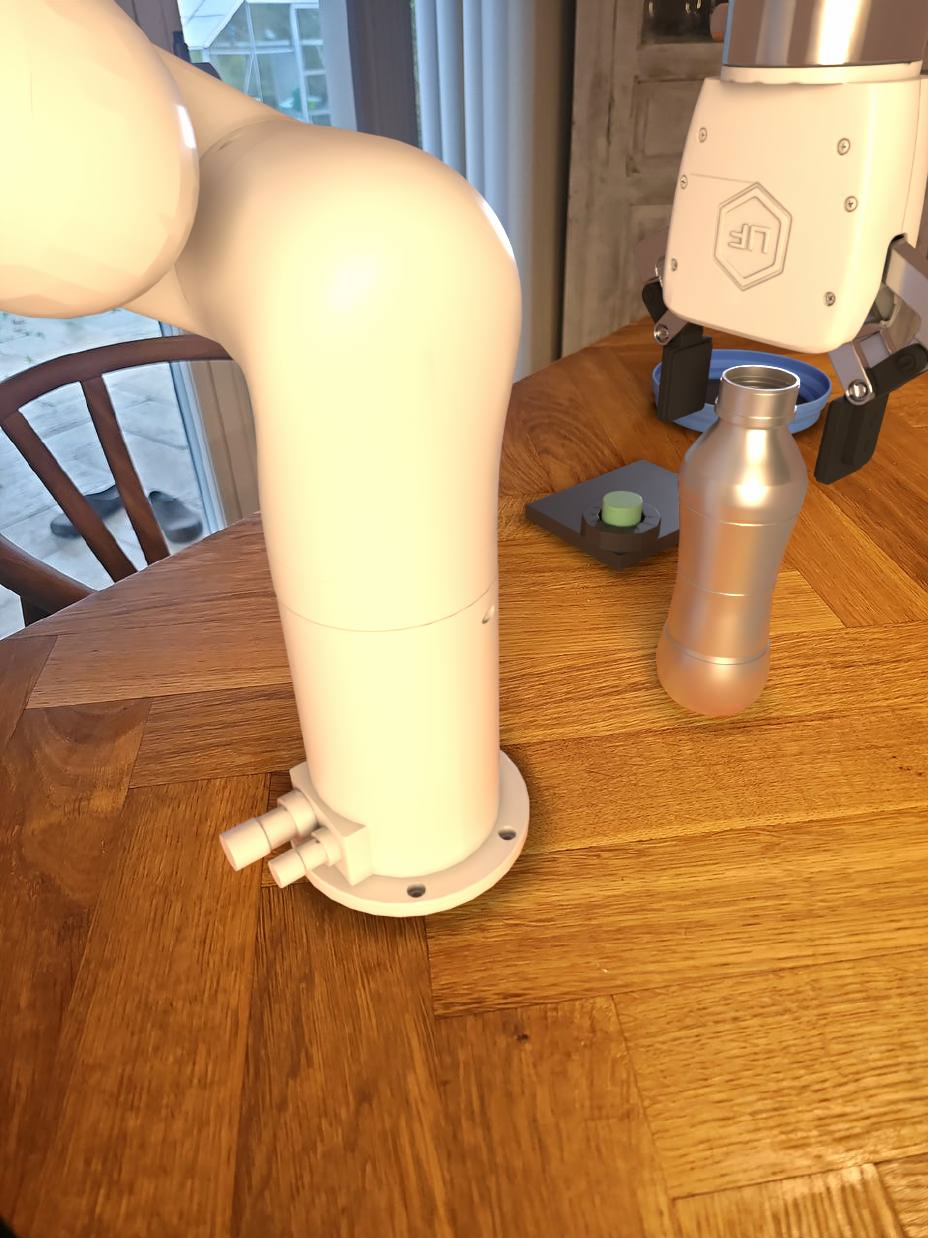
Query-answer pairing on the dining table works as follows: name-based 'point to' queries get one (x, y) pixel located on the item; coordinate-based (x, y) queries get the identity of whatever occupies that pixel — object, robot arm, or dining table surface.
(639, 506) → the button
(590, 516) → the scale
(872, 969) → the dining table surface
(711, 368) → the bowl
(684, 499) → the silver metal bottle
